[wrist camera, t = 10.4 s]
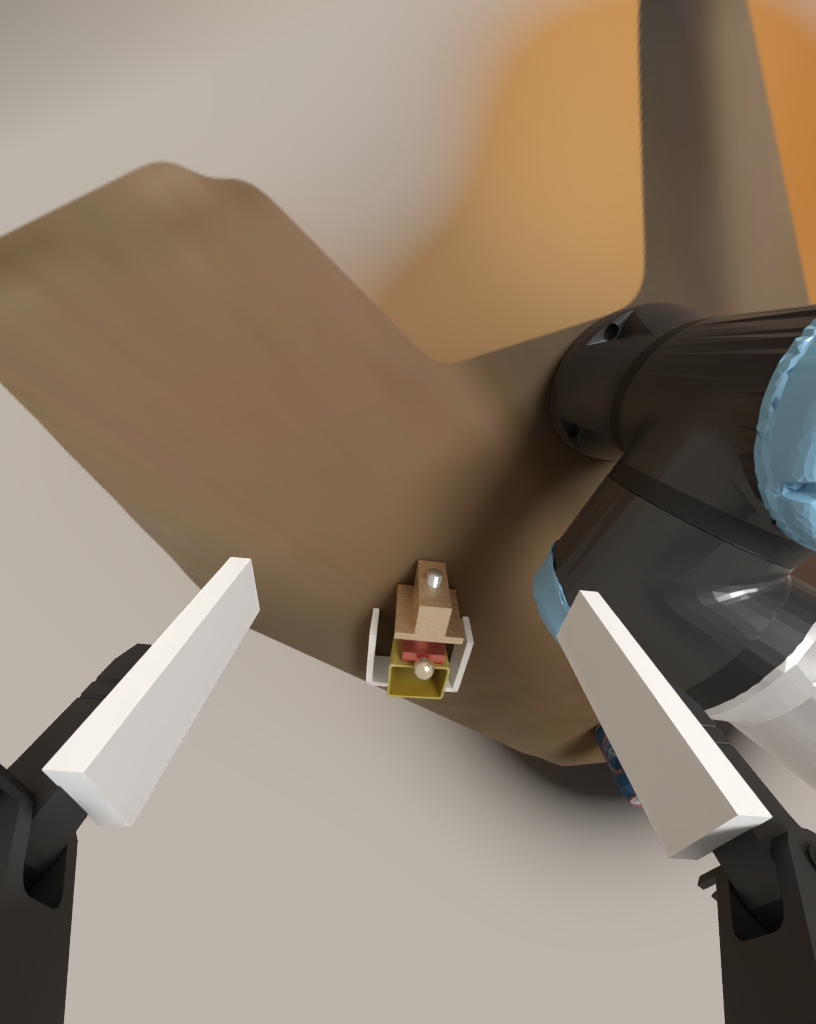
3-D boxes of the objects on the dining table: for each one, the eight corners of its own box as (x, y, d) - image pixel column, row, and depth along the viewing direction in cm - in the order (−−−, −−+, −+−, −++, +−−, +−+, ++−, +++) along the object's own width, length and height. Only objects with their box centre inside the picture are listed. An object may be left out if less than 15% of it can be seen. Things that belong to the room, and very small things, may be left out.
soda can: (611, 716, 63) (651, 789, 53) (632, 726, 65) (674, 798, 55) (585, 730, 66) (618, 802, 56) (606, 739, 68) (641, 811, 57)
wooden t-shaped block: (463, 555, 44) (478, 616, 33) (447, 619, 50) (456, 687, 40) (402, 549, 43) (399, 608, 33) (393, 614, 49) (389, 681, 39)
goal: (468, 617, 50) (473, 642, 45) (453, 665, 56) (457, 692, 52) (373, 608, 49) (369, 633, 45) (369, 658, 55) (365, 684, 51)
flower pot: (438, 647, 54) (442, 700, 46) (390, 644, 54) (386, 697, 46) (445, 615, 49) (451, 668, 42) (392, 612, 49) (388, 664, 41)
